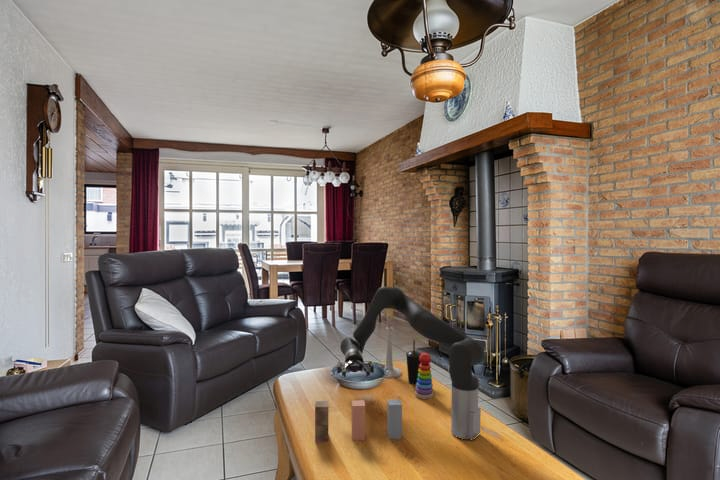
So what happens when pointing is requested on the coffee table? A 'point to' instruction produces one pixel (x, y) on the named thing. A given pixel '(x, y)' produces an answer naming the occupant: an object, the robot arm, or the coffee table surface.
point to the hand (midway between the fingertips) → (356, 374)
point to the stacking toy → (424, 378)
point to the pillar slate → (394, 419)
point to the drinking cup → (413, 364)
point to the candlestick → (390, 352)
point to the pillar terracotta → (358, 420)
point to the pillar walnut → (321, 421)
